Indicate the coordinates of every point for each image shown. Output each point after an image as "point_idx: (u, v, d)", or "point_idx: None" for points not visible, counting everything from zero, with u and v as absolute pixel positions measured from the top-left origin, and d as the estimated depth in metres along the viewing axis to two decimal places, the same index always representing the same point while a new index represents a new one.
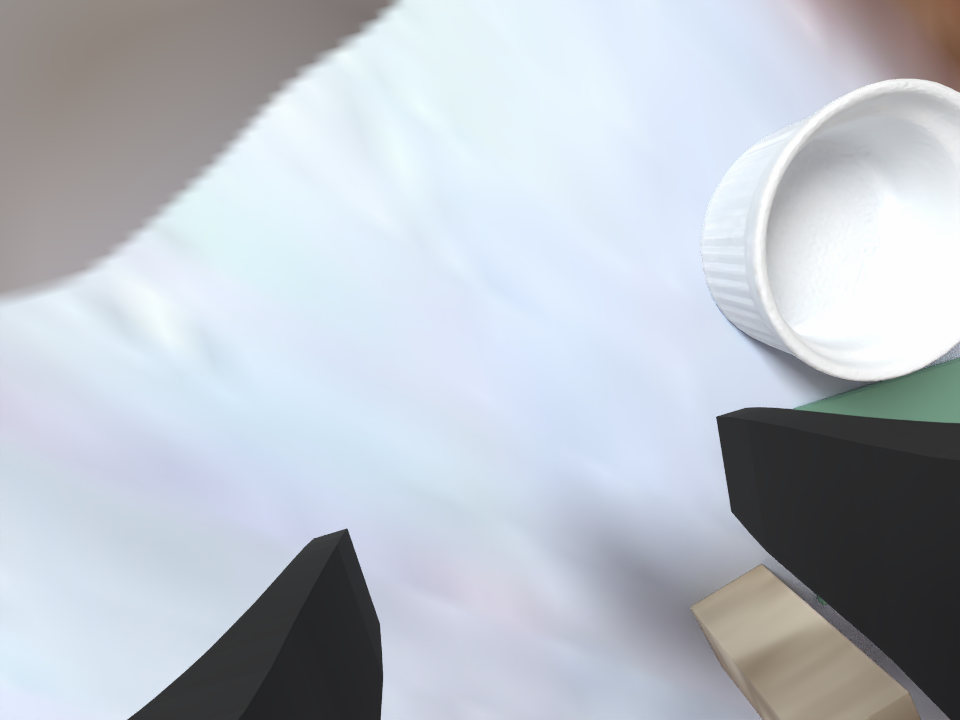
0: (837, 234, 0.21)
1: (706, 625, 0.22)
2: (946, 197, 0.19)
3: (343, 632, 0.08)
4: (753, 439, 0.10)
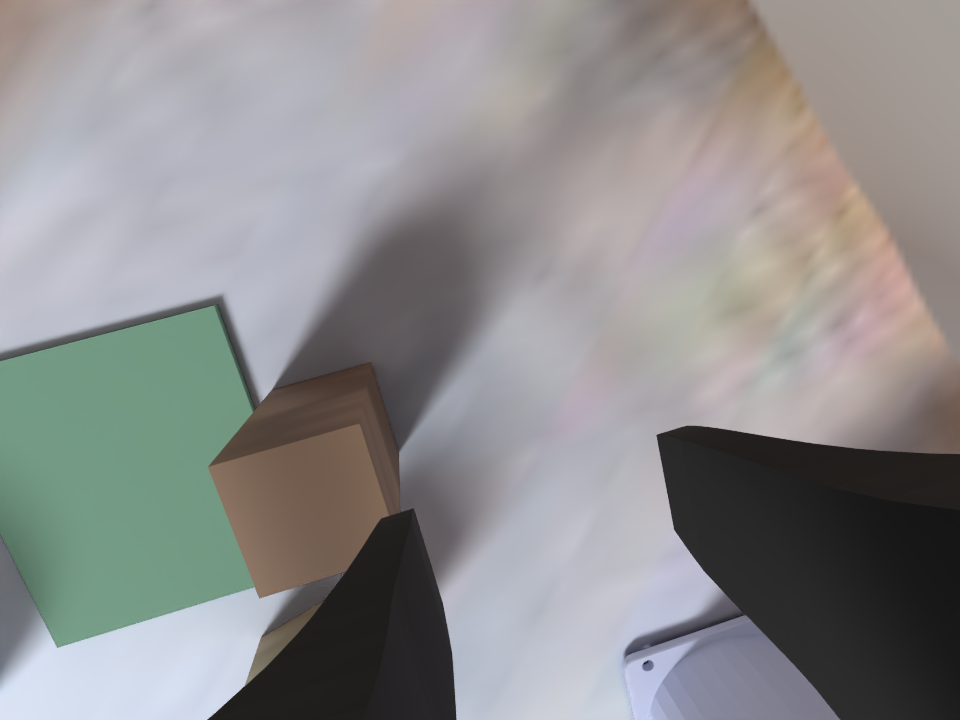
0: None
1: None
2: None
3: (423, 606, 0.08)
4: (687, 459, 0.09)
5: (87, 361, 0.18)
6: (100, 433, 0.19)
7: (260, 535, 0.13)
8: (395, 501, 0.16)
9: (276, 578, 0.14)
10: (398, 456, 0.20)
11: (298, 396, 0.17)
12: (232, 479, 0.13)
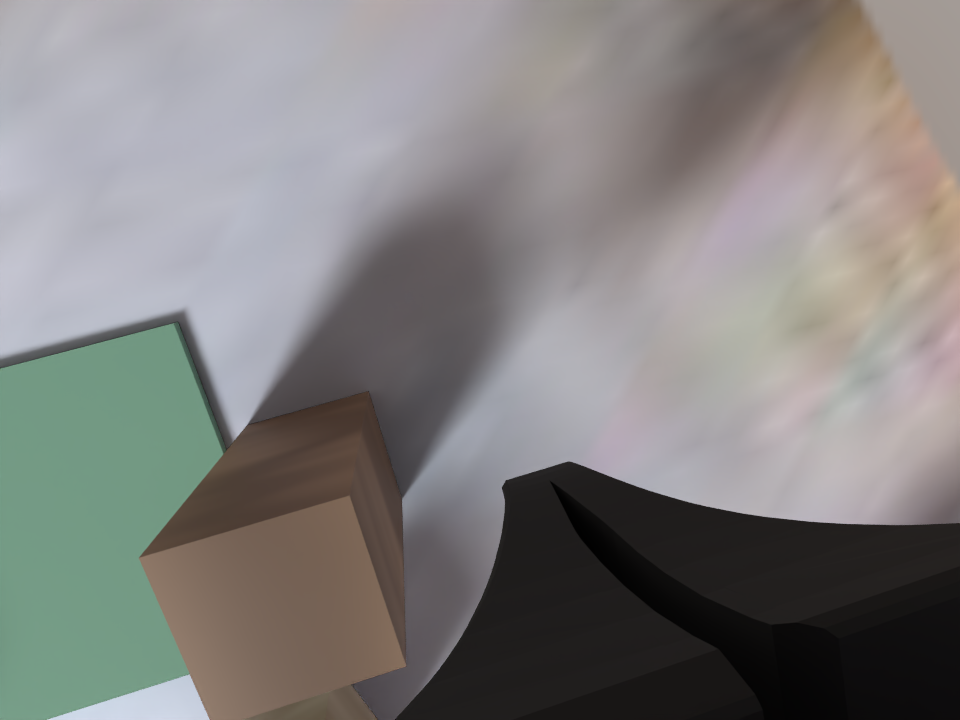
0: None
1: None
2: None
3: None
4: None
5: (15, 393, 0.15)
6: (34, 481, 0.15)
7: (213, 646, 0.10)
8: (398, 581, 0.12)
9: (237, 702, 0.10)
10: (401, 505, 0.17)
11: (276, 439, 0.14)
12: (173, 573, 0.09)
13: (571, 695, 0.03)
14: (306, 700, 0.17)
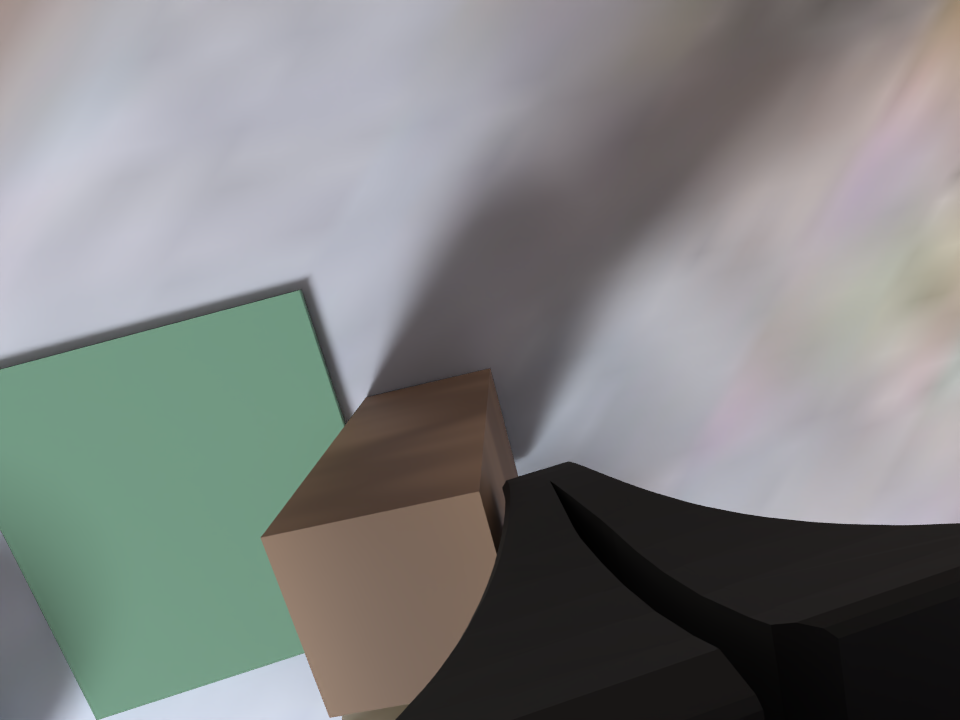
0: None
1: None
2: None
3: None
4: None
5: (139, 362, 0.14)
6: (154, 453, 0.15)
7: (331, 636, 0.09)
8: None
9: (353, 694, 0.09)
10: None
11: (396, 415, 0.13)
12: (294, 557, 0.09)
13: (571, 695, 0.03)
14: None
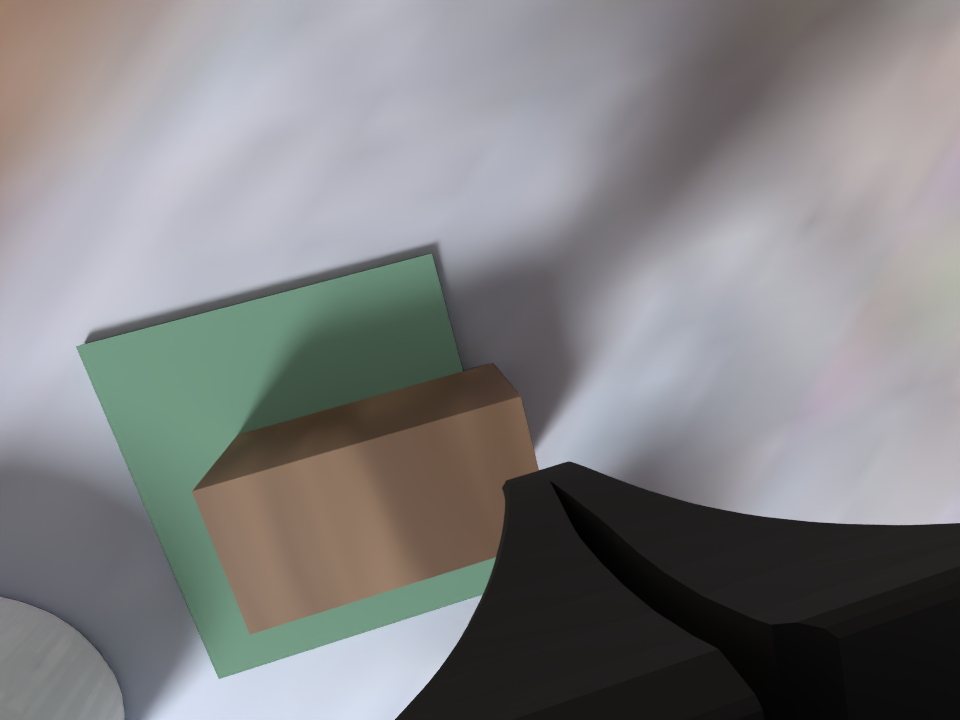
0: None
1: None
2: None
3: None
4: None
5: (276, 323, 0.15)
6: (286, 414, 0.15)
7: None
8: (329, 587, 0.12)
9: None
10: None
11: (412, 398, 0.14)
12: None
13: (571, 697, 0.03)
14: None
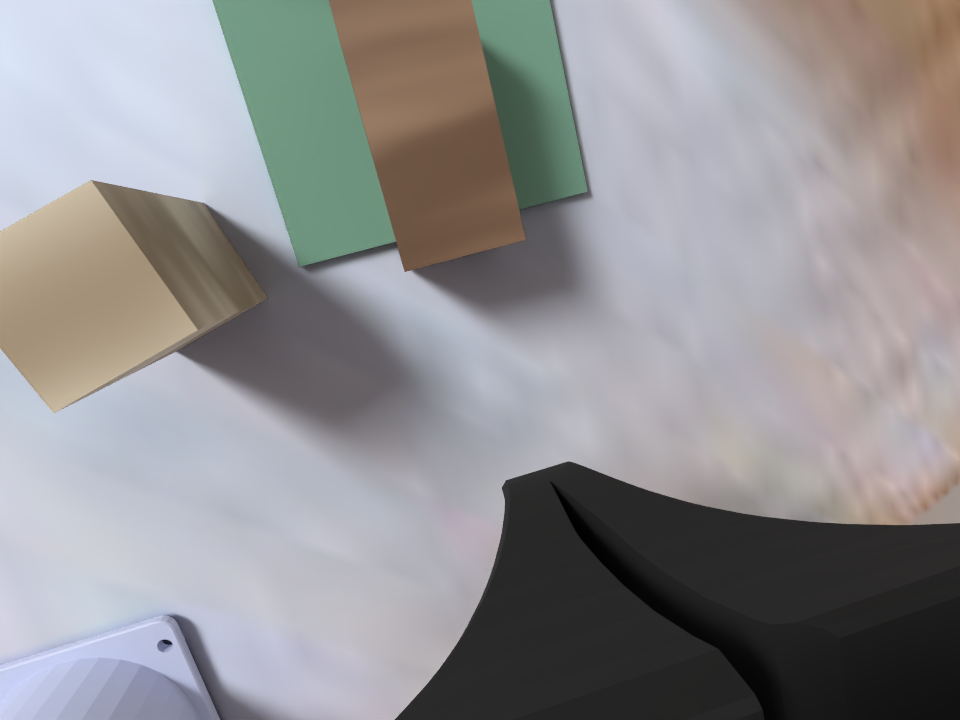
0: None
1: None
2: None
3: None
4: None
5: (540, 62, 0.18)
6: None
7: None
8: (369, 72, 0.15)
9: None
10: (401, 252, 0.16)
11: None
12: None
13: (570, 694, 0.03)
14: (246, 279, 0.18)
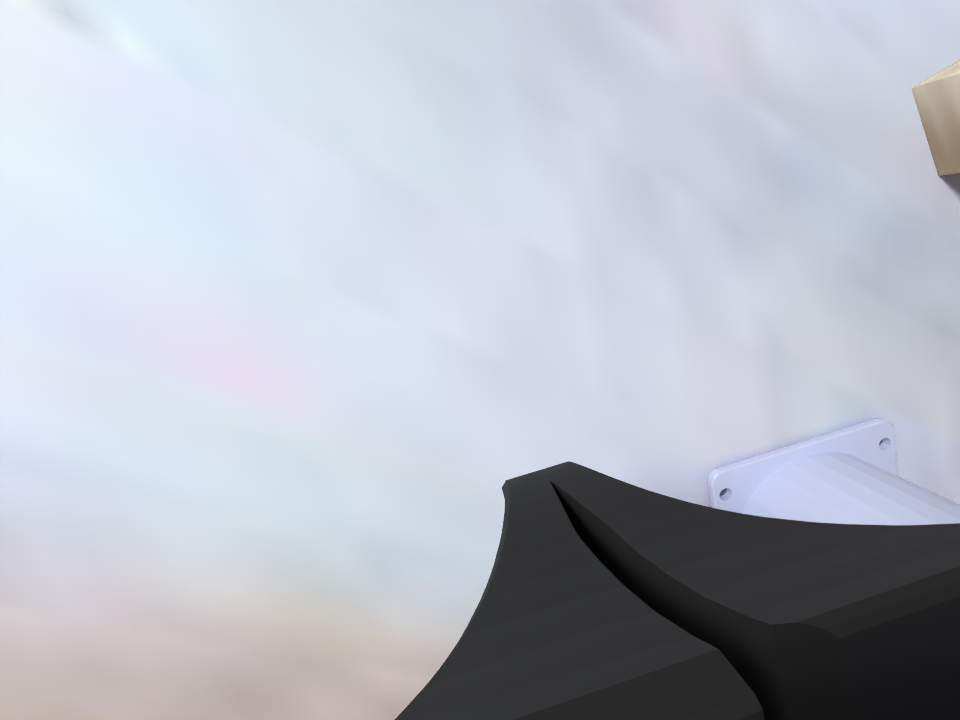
0: None
1: (943, 77, 0.20)
2: None
3: None
4: None
5: None
6: None
7: None
8: None
9: None
10: None
11: None
12: None
13: (572, 697, 0.03)
14: None
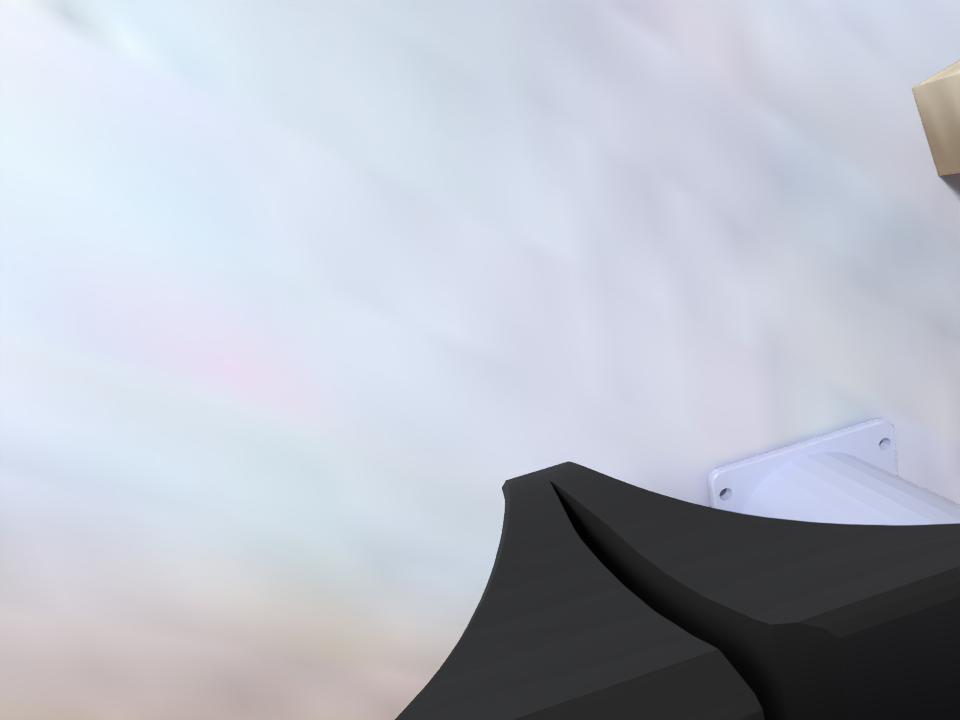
0: None
1: (943, 77, 0.20)
2: None
3: None
4: None
5: None
6: None
7: None
8: None
9: None
10: None
11: None
12: None
13: (571, 695, 0.03)
14: None
